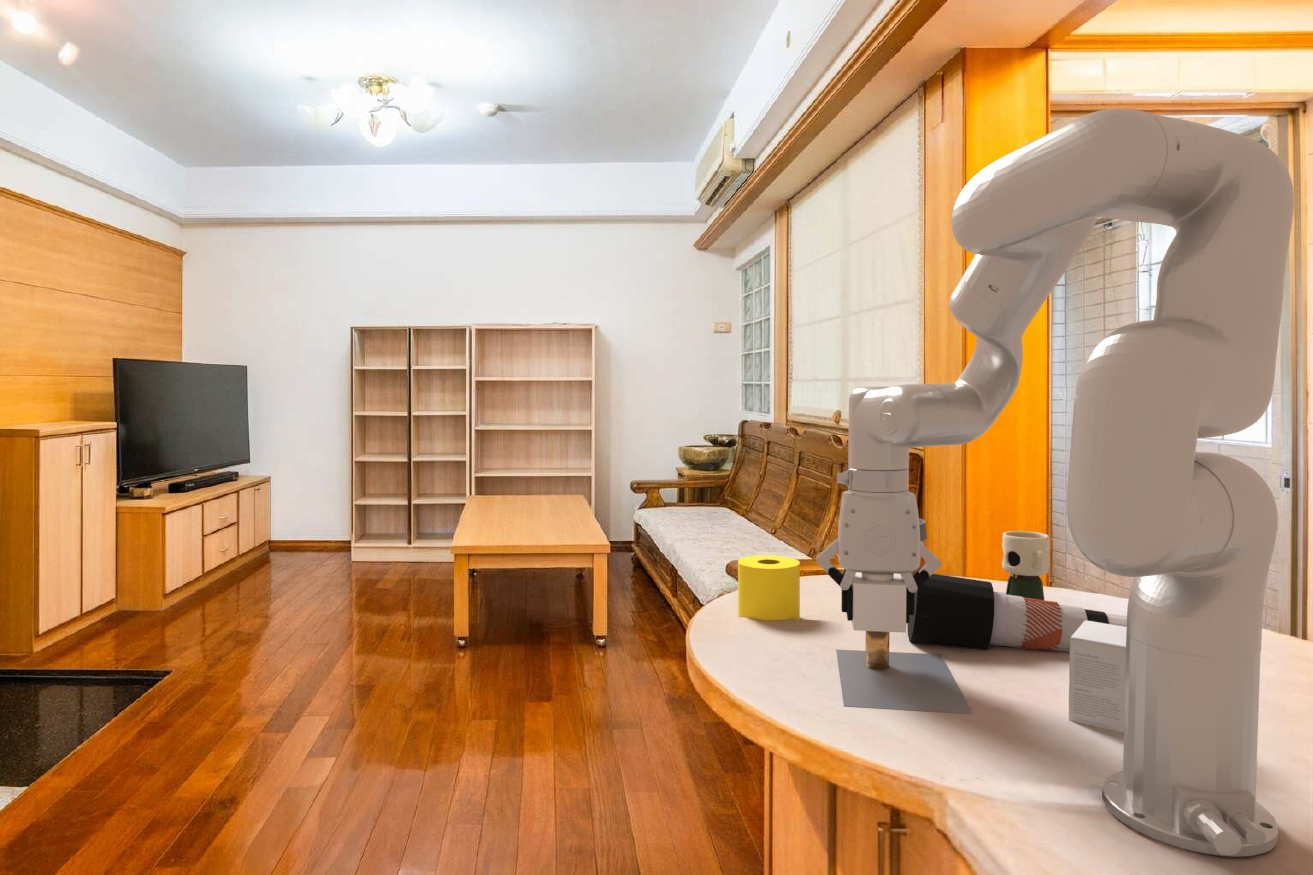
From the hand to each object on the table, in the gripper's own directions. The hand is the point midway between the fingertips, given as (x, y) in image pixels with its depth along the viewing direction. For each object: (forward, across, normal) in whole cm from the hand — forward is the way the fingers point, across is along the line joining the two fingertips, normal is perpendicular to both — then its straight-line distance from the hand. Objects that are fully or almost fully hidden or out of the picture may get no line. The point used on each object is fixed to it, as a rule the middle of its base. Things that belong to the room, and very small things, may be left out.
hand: (877, 617), depth 102 cm
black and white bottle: (+8, +23, +12) cm, 27 cm away
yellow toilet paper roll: (+8, -15, +24) cm, 29 cm away
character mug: (+8, +27, +34) cm, 44 cm away
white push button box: (+1, 0, 0) cm, 1 cm away
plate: (+8, +2, -4) cm, 9 cm away
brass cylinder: (+6, 0, 0) cm, 6 cm away
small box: (+8, +23, -12) cm, 27 cm away
